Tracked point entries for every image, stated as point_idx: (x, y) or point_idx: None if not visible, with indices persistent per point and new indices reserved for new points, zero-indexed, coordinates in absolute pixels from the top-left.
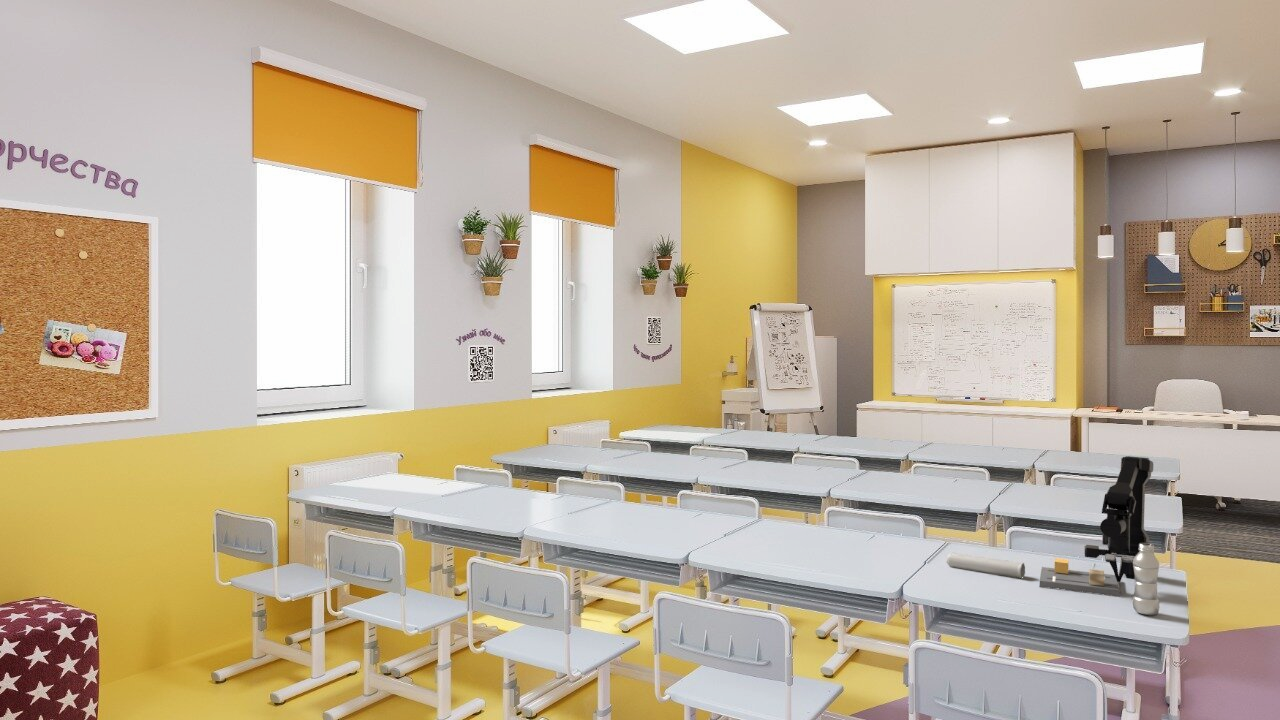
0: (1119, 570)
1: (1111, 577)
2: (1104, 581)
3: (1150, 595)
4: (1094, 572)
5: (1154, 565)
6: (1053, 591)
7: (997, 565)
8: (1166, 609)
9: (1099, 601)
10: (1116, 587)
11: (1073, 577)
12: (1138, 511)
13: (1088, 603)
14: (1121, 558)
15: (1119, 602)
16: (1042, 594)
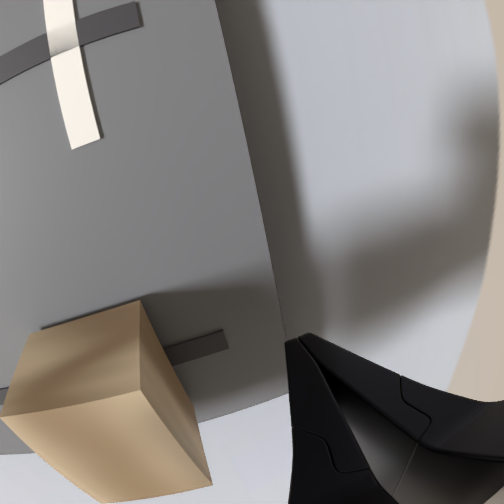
0: (361, 407)
1: (149, 2)
2: (126, 240)
3: None
4: (110, 481)
5: None
6: (15, 458)
7: None
8: (439, 363)
9: (215, 467)
10: (270, 354)
11: None
12: None
13: (191, 495)
14: (490, 498)
15: (290, 429)
16: (31, 492)
